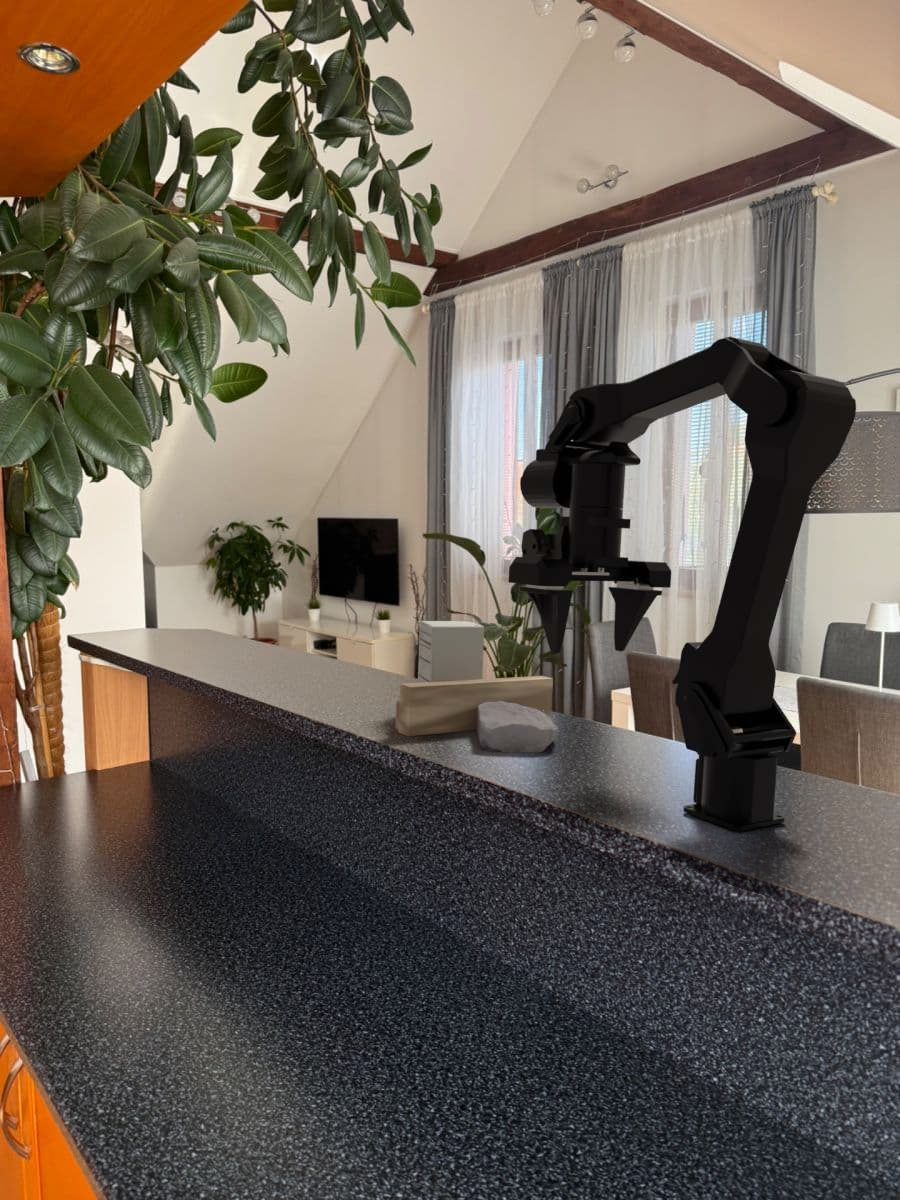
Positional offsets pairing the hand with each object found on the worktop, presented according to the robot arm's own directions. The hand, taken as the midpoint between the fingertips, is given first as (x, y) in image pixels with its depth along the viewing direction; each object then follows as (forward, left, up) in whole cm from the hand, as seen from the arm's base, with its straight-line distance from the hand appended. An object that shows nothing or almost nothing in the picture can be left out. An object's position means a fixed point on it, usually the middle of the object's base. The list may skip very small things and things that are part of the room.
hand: (588, 652), depth 99 cm
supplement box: (+29, -1, -13) cm, 32 cm away
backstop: (+20, 0, -12) cm, 24 cm away
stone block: (+12, 0, -13) cm, 18 cm away
